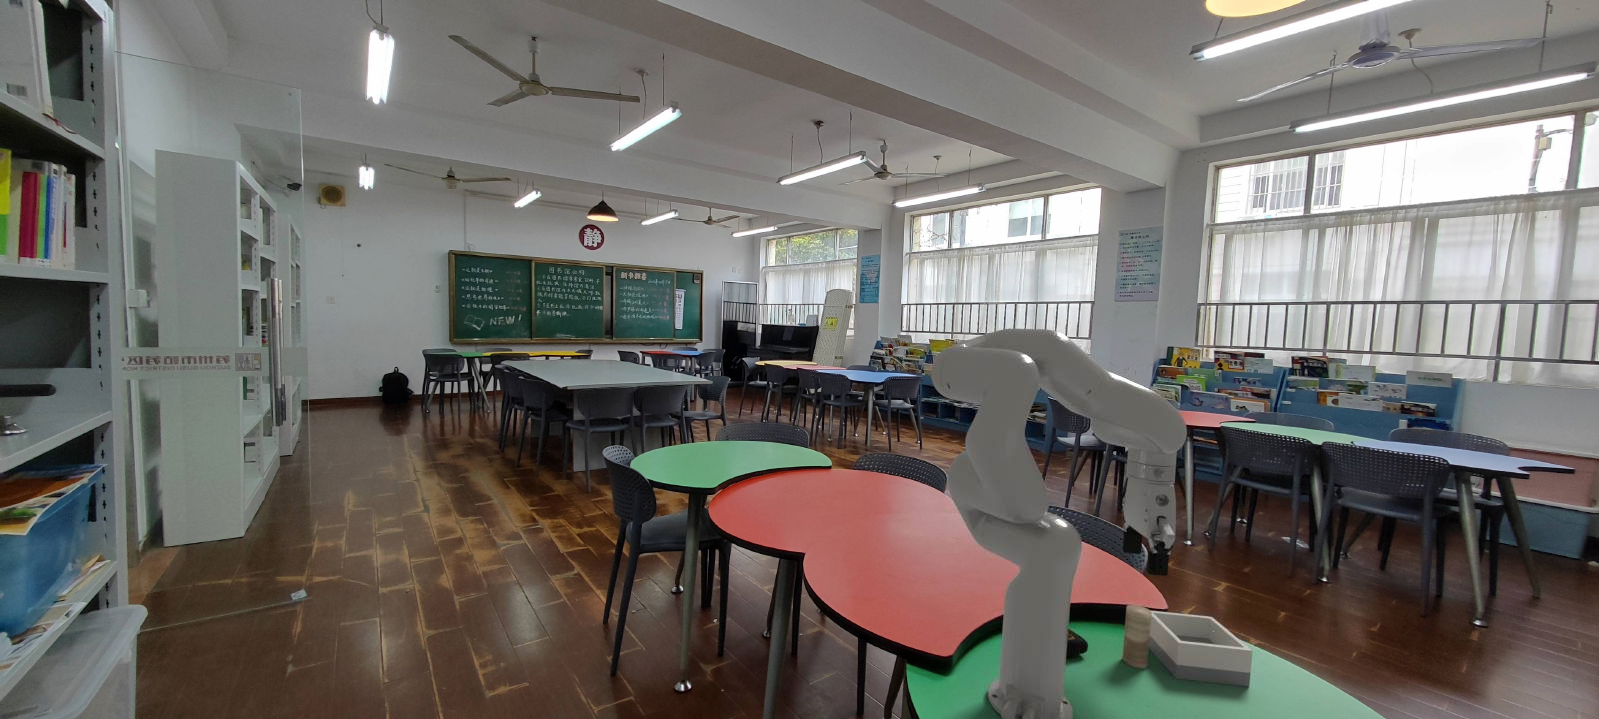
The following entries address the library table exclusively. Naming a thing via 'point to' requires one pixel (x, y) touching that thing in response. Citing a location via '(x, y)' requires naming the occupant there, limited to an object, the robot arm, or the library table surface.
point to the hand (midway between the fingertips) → (1143, 563)
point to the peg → (1137, 636)
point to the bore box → (1199, 649)
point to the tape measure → (1075, 644)
